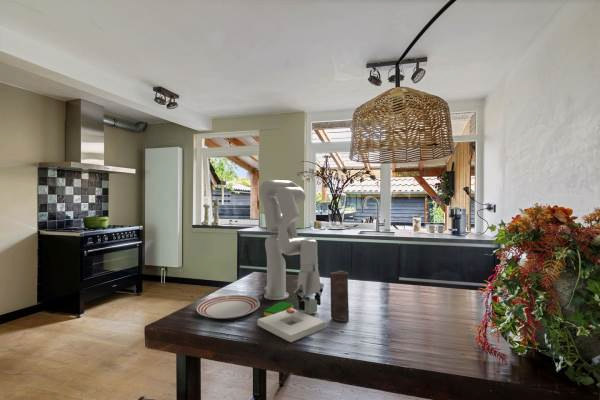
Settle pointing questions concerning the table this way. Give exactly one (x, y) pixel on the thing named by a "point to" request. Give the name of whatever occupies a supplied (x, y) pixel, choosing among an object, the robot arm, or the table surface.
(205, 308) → the dinner plate
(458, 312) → the table surface
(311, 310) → the plug
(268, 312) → the dish sponge
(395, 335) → the table surface
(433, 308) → the table surface
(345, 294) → the candle
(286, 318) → the socket
